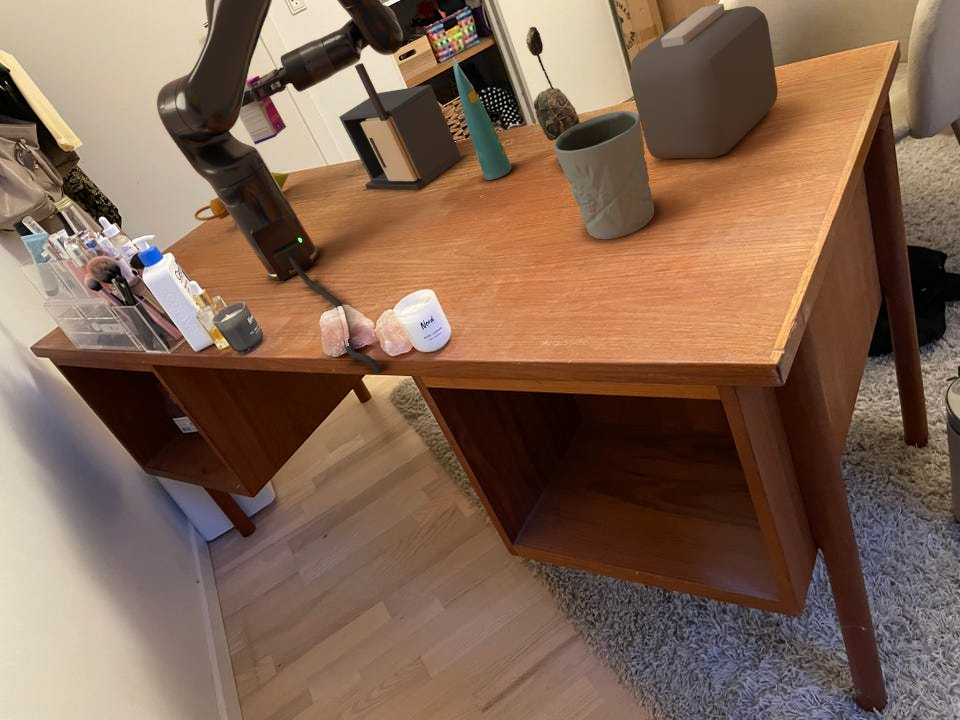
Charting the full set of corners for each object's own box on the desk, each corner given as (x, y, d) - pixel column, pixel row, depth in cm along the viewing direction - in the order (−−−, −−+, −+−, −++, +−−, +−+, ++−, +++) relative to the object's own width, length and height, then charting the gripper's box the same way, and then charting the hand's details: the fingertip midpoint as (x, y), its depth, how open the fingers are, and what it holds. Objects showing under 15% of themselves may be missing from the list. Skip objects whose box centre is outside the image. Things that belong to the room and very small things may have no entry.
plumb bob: (283, 188, 167) (194, 233, 153) (271, 152, 161) (178, 195, 147) (305, 195, 162) (216, 242, 148) (294, 158, 156) (200, 204, 142)
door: (413, 181, 125) (358, 65, 113) (388, 181, 131) (333, 71, 120) (417, 179, 125) (362, 62, 114) (391, 179, 132) (337, 68, 120)
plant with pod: (539, 179, 106) (493, 51, 96) (571, 145, 113) (531, 21, 102) (585, 174, 101) (541, 37, 91) (615, 138, 108) (578, 6, 97)
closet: (418, 190, 125) (383, 115, 117) (366, 188, 138) (332, 121, 130) (461, 158, 130) (430, 84, 122) (407, 159, 143) (376, 93, 135)
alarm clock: (713, 110, 101) (691, 1, 93) (788, 105, 93) (771, -16, 85) (652, 166, 94) (622, 54, 86) (727, 165, 86) (702, 41, 78)
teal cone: (516, 173, 112) (472, 56, 102) (490, 185, 113) (443, 71, 102) (506, 161, 119) (463, 51, 108) (480, 173, 119) (435, 64, 109)
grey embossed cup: (567, 240, 87) (536, 153, 80) (610, 198, 92) (584, 113, 85) (635, 244, 80) (606, 148, 73) (678, 198, 84) (655, 105, 78)
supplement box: (276, 136, 142) (245, 82, 136) (254, 145, 144) (223, 93, 138) (287, 126, 147) (258, 74, 141) (266, 135, 149) (236, 84, 143)
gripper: (302, 42, 144) (233, 76, 145) (297, 51, 132) (221, 88, 133) (320, 77, 148) (253, 109, 149) (317, 89, 135) (243, 124, 137)
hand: (238, 99), depth 141 cm, fingers closed on supplement box, 7 cm apart
